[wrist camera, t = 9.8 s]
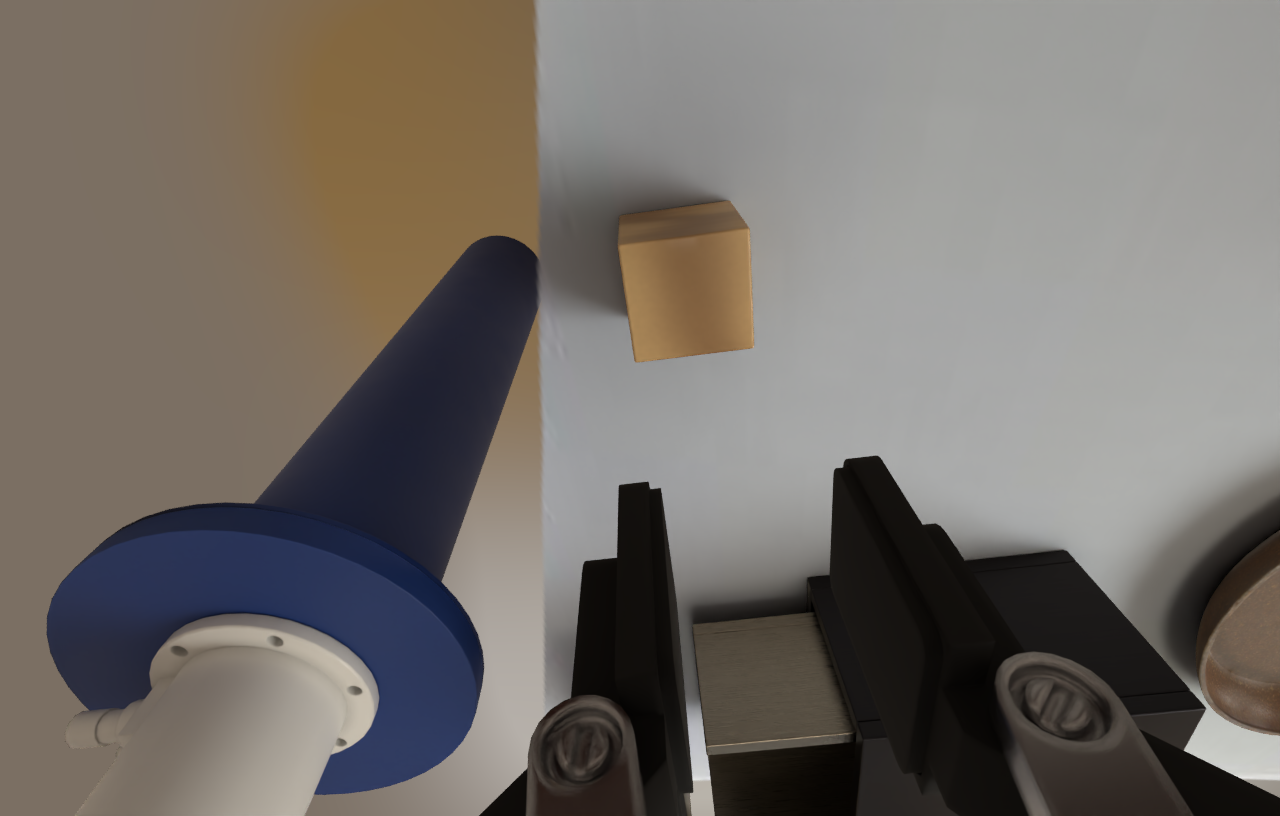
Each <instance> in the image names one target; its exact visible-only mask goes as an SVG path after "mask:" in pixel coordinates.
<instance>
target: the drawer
mask: <svg viewBox="0 0 1280 816" xmlns="http://www.w3.org/2000/svg"><path fill="white" fill-rule="evenodd" d="M692 630H693V638H694V647H695V656H696V665H697V674H698V683H699V691H700V700H701V709H702V718H703V727H704V736H705V744H706V752H707V755H708V760H709V768H710V777H711V786H712V795H713V803H714V812H715V816H850V806H851V794H852V782H853V770H854V758H855V746H856V734H857V732H856V731H855V728H854V725H853V722H852V719H851V716H850V713H849V710H848V707H847V704H846V701H845V698H844V695H843V692H842V689H841V687H840V684H839V681H838V678H837V675H836V672H835V669H834V666H833V663H832V660H831V657H830V654H829V651H828V648H827V645H826V642H825V639H824V636H823V633H822V630H821V627H820V624H819V621H818V618H817V615H816V613H815V612H808V613H799V614H789V615H779V616H770V617H760V618H750V619H740V620H731V621H721V622H711V623H701V624H693V625H692ZM680 795H681V809H682V816H692V815H691V803H690V793H683V794H680Z"/></svg>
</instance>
